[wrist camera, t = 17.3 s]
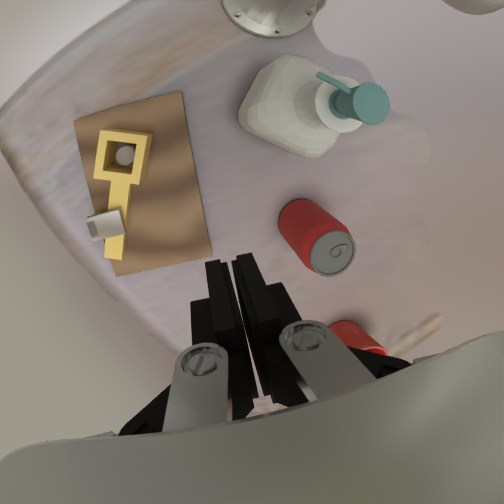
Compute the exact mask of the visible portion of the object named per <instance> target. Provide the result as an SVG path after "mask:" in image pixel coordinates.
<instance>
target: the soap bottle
mask: <svg viewBox="0 0 504 504" xmlns="http://www.w3.org/2000/svg"><path fill="white" fill-rule="evenodd" d="M389 109H390V104H389V98H388V96H387V94H386V92H385V91H384V90H383V89H382V88H381V86H379V85H377V84H375V83H364V84H361V85H359V84H358V83H357V82H356V81H355V80H353V79H351V78H349V77H346V76H335V75H334V74H333V73H331V72H330V71H329V70H327V69H326V68H324V67H322V66H320V65H318V64H316V63H314V62H312V61H310V60H308V59H306V58H304V57H300V56H295V55H286V54H284V55H282V56H281V57H279V58H278V59H276V60H274V61H273V62H271V63H270V64H268V65H267V66H265V67H264V68H262V69H261V70H260V71H259V72H258V74H257V76H256V78H255V80H254V82H253V84H252V85H251V87H250V89H249V91H248V93H247V95H246V97H245V99H244V101H243V103H242V105H241V107H240V108H239V111H238V122H239V123H240V125H241V126H242V127H243V128H244V129H245V131H247V132H249V133H251V134H254V135H256V136H258V137H260V138H262V139H264V140H266V141H268V142H270V143H272V144H274V145H276V146H278V147H280V148H282V149H284V150H286V151H288V152H291V153H294V154H296V155H299V156H302V157H304V158H318V157H320V156H321V155H322V154H324V153H325V152H326V151H327V150H328V149H330V148H331V147H332V146H333V145H334V143H335V141H336V140H337V138H338V137H339V135H340V133H343V132H351V131H353V130H355V129H357V128H359V127H360V126H361V124H362V123H363V122H364V123H367V124H370V125H375V124H379V123H381V122H383V121H384V120H385V118H386V117H387V116H388V113H389Z"/></svg>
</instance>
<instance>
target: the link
mask: <svg viewBox="0 0 504 504" xmlns="http://www.w3.org/2000/svg"><path fill="white" fill-rule="evenodd" d="M152 136H153V134H150V133H143V132H135V131H128V130H120V129H105V130H100V135H99V141H98V147H97V154H96V161H95V169H94V177H93V178H94V179H102V180H109V181H111V186H110V194H109V204H108V211H111V210H115V209H119V208H120V210H121V214H122V217H123V221H124V224H125V228H126V231H127V221H128V213H129V204H130V197H131V189H132V184H137V185H139V184H140V183H141V181H142V180H143V179H144V177H145V174H146V168H147V163H148V157H149V151H150V146H151V141H152ZM117 141H119V142H126V143H134V144H137V145H136V151H135V157H134V162H133V167H131V166H123V165H116V164H113V161H114V154H115V148H116V142H117ZM125 241H126V233H125V234H122V235H118V236H114V237H110V238H106V239H105V256H104V258H111V259H117V260H122V258H123V256H124V253H125Z"/></svg>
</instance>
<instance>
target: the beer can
mask: <svg viewBox="0 0 504 504" xmlns="http://www.w3.org/2000/svg"><path fill="white" fill-rule="evenodd" d="M279 229H280V233H281V234H282V236H283V237H284V238H285V240H286V241H287V242H288V244H289V245H290V246H291V248H292V249H293V250H294V251H295V253H296V254H297V255H298V257H299V258H300V259H301V261H302V262H303V263H304V265H305V266H306V267H307V268H309V269H310V270H312V271H314V272H316V273H318V274H320V275H322V276H326V277H331V276H336V275H338V274H341V273H342V272H344V271H345V270H346V269H347V268H348V267H349V266H350V265H351V263H352V261H353V259H354V257H355V252H356V247H355V242H354V240H353V238H352V236H351V234H350V233H349V231H348V229H347V227H346V226H344V225H343V224H342V223H341V222H340V221H338V220H337V219H336V218H334V217H333V216H332V215H330V214H329V213H328V212H326V211H325V210H323V209H322V208H321V207H319V206H318V205H317V204H315V203H314V202H312V201H310V200H307V199H299V200H296V201H293V202H291V203H290V204H288V205H287V206H286V207H285V208H284V209H283V211H282V212H281V215H280V217H279Z"/></svg>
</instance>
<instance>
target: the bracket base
mask: <svg viewBox="0 0 504 504" xmlns="http://www.w3.org/2000/svg"><path fill="white" fill-rule="evenodd" d="M74 126H75V131H76V136H77V141H78V146H79V151H80V155H81V160H82V164H83V168H84V172H85V176H86V180H87V184H88V188H89V192H90V196H91V199H92V203H93V206H94V210H95V214H94V215H92V216H88V217H87V218H86V222H87V225H88V228H89V231H90V234H91V237H92V240H93V242H94V241H98V240H102V239H103V240H104V243H105V239H106V238H110V237H114V236H118V235H122V234H125V233H126V241H125V253H124V256H123V258H122V260H117V259H111V258H110V261H111V264H112V267H113V269H114V272H115V275H116V277H117V276H122V275H126V274H131V273H136V272H140V271H145V270H150V269H154V268H159V267H164V266H169V265H173V264H178V263H183V262H187V261H192V260H197V259H202V258H206V257H211V256H212V251H211V246H210V241H209V237H208V232H207V227H206V222H205V217H204V212H203V207H202V202H201V197H200V192H199V187H198V182H197V177H196V172H195V166H194V161H193V156H192V150H191V145H190V139H189V134H188V128H187V122H186V117H185V111H184V105H183V99H182V93H181V91H180V92H175V93H171V94H166V95H162V96H157V97H153V98H149V99H145V100H141V101H137V102H133V103H129V104H126V105H122V106H119V107H115V108H112V109H108V110H105V111H102V112H98V113H95V114H92V115H89V116H86V117H83V118H80V119H77V120H74ZM105 129H120V130H128V131H135V132H143V133H150V134H153V136H152V141H151V146H150V151H149V157H148V163H147V168H146V174H145V177H144V179H143V180H142V181H141V183H140V184H139V185H137V184H132V189H131V197H130V204H129V213H128V221H127V231H126V228H125V224H124V221H123V217H122V214H121V210H120V208H119V209H115V210H111V211H108V204H109V194H110V186H111V181H109V180H102V179H94V178H93V177H94V169H95V161H96V154H97V147H98V141H99V135H100V130H105ZM136 145H137V144H134V143H126V142H119V141H117V142H116V148H115V154H114V161H113V164H116V165H123V166H131V167H133V162H134V157H135V151H136Z"/></svg>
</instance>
